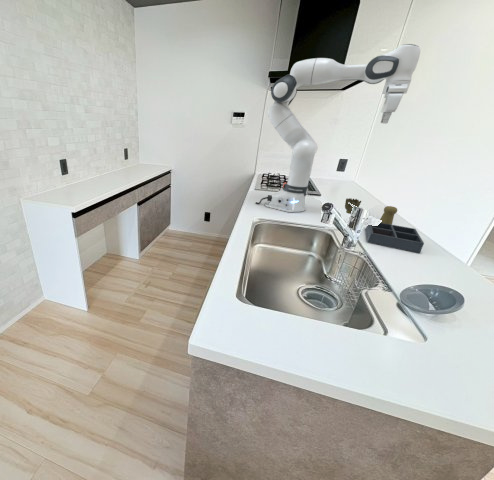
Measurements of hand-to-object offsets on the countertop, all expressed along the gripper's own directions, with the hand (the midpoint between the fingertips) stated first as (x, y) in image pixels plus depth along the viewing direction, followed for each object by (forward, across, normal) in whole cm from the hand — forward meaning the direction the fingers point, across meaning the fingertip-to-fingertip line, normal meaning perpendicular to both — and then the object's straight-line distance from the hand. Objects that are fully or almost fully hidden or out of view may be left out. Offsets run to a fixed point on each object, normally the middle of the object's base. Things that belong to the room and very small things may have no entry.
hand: (383, 123), depth 121 cm
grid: (+48, +22, +15) cm, 55 cm away
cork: (+48, +5, +14) cm, 50 cm away
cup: (+48, -10, -1) cm, 49 cm away
